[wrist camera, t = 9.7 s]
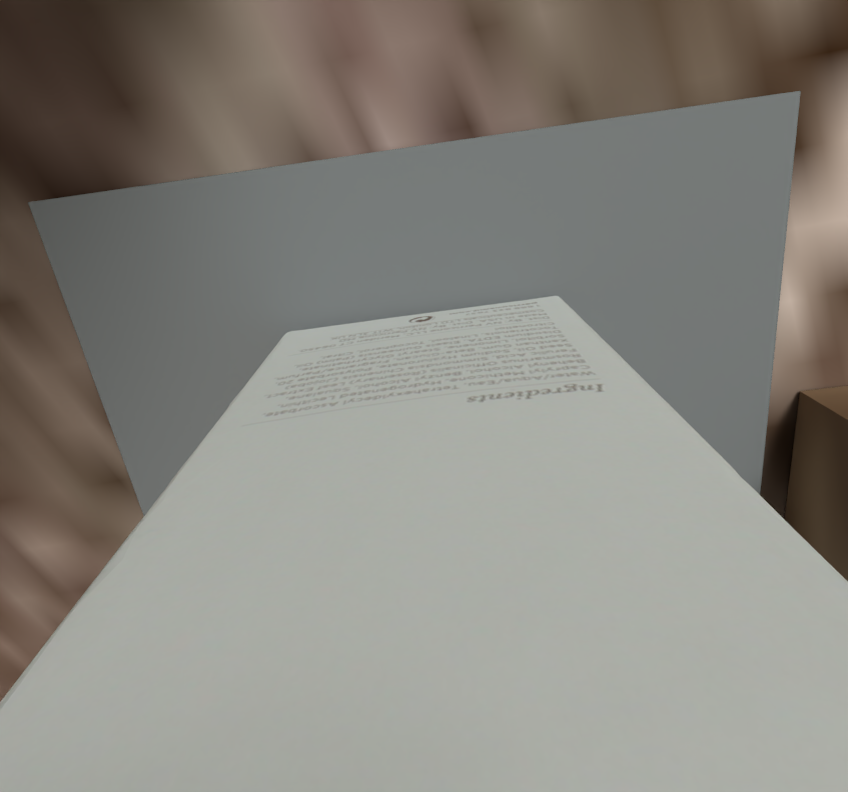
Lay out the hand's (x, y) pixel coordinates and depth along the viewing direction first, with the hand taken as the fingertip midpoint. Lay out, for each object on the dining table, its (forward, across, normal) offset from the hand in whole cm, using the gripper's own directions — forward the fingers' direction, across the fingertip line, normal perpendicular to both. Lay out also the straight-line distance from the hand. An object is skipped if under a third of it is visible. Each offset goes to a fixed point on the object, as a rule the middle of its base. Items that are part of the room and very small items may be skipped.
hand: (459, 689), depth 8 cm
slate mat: (+6, 0, 0) cm, 6 cm away
